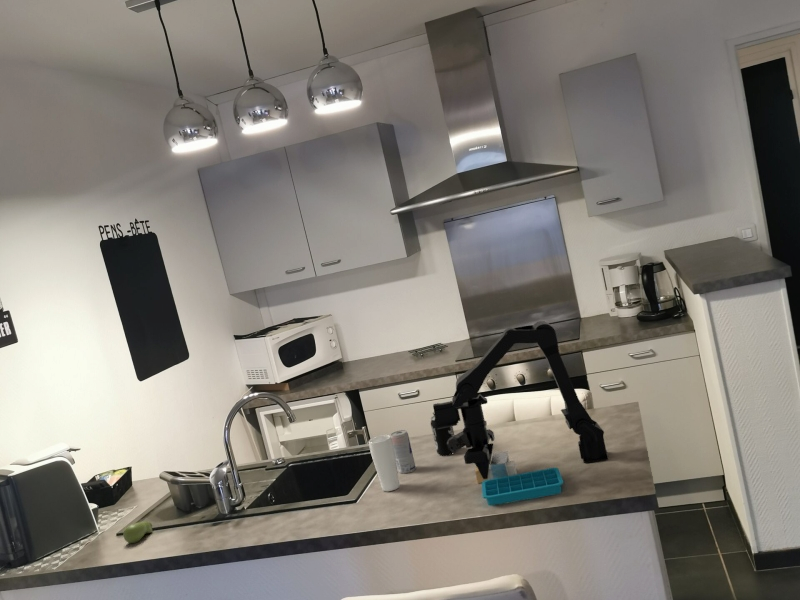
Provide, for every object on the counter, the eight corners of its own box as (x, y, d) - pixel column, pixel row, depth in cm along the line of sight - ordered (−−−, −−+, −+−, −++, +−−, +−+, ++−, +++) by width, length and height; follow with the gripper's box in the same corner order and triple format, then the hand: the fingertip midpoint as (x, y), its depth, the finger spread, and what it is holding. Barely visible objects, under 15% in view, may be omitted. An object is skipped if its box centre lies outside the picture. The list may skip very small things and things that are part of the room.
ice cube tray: (566, 495, 173) (563, 483, 173) (485, 509, 176) (482, 498, 175) (559, 477, 185) (557, 466, 185) (483, 491, 187) (481, 480, 187)
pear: (117, 528, 207) (140, 518, 217) (120, 546, 207) (142, 535, 216) (133, 526, 205) (155, 516, 215) (136, 544, 205) (158, 534, 215)
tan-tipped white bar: (517, 472, 194) (514, 460, 194) (516, 478, 190) (513, 465, 190) (479, 477, 197) (476, 465, 196) (477, 483, 193) (475, 471, 193)
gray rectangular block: (511, 469, 197) (507, 451, 196) (509, 482, 188) (504, 463, 188) (497, 471, 198) (493, 453, 197) (494, 484, 189) (490, 465, 189)
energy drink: (416, 465, 219) (407, 428, 217) (415, 471, 213) (406, 434, 212) (399, 468, 219) (391, 432, 218) (398, 475, 214) (389, 437, 213)
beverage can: (450, 456, 219) (442, 419, 218) (433, 456, 224) (425, 420, 222) (461, 448, 225) (453, 412, 224) (444, 448, 229) (436, 413, 228)
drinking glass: (375, 493, 203) (363, 443, 201) (386, 483, 209) (375, 435, 207) (396, 493, 200) (384, 442, 198) (406, 483, 205) (395, 433, 204)
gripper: (450, 415, 204) (462, 467, 205) (439, 437, 186) (452, 493, 187) (488, 409, 201) (500, 461, 202) (481, 430, 183) (494, 487, 184)
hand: (486, 475), depth 194 cm, fingers closed on tan-tipped white bar, 4 cm apart
